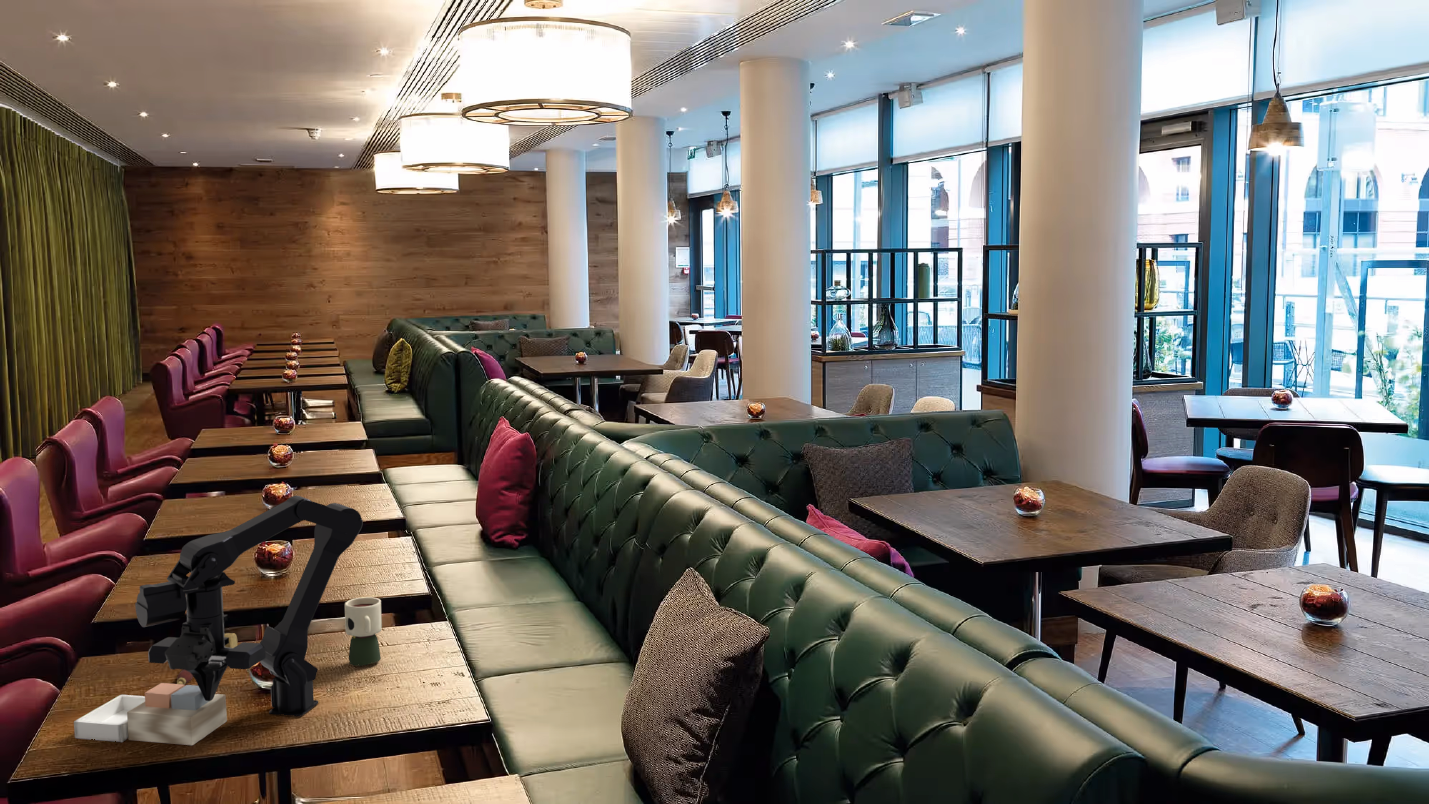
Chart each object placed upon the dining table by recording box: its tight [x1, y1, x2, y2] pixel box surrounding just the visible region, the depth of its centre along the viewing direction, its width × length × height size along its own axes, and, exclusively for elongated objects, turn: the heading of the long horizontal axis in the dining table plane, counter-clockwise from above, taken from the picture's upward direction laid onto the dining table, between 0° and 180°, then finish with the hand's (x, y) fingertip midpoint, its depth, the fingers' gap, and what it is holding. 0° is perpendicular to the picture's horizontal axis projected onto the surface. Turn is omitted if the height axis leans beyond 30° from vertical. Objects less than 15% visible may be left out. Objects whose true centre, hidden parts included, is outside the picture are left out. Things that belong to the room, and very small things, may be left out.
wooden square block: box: [127, 693, 228, 746], centre depth 194 cm, size 12×10×5 cm
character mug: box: [344, 596, 382, 667], centre depth 226 cm, size 11×7×13 cm, turn 27°
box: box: [73, 694, 145, 743], centre depth 196 cm, size 9×12×3 cm
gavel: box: [176, 632, 238, 685], centre depth 223 cm, size 21×5×10 cm
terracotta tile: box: [144, 682, 186, 708], centre depth 194 cm, size 4×4×2 cm
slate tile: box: [171, 684, 209, 710], centre depth 193 cm, size 4×4×2 cm
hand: (209, 700), depth 193 cm, fingers closed
